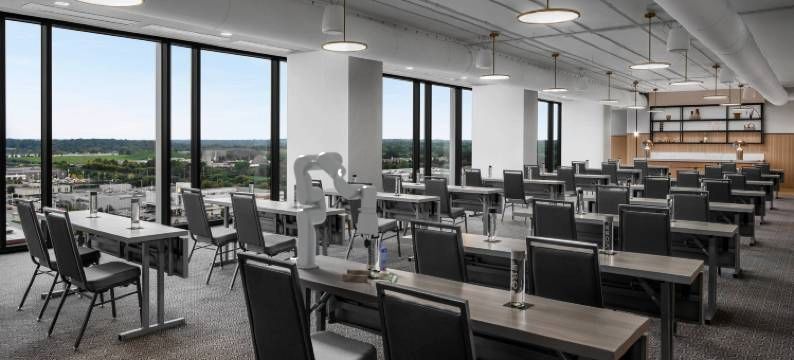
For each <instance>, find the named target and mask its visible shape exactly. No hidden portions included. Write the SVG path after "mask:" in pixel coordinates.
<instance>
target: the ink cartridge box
mask: <svg viewBox="0 0 794 360" xmlns="http://www.w3.org/2000/svg"><path fill="white" fill-rule="evenodd" d="M379 243H380V244H379V246H380V271H387V264H388V262H387V261H388V260H387V259H388V258H387V257H388V248H387V247H382V244H383V243H381V242H379ZM365 270H368V248H366V269H365Z"/></svg>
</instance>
